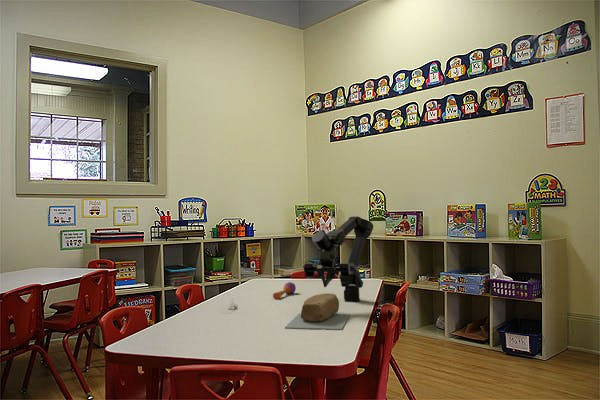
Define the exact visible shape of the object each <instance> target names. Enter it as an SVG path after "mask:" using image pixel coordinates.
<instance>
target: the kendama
mask: <svg viewBox="0 0 600 400" xmlns="http://www.w3.org/2000/svg"><path fill="white" fill-rule="evenodd" d="M296 287H297V286H296V285H295V283H294V282H291V281H288V282H286V283H285V284H284V286H283V290H280V291H277V292H274V293H273V294H272V298H273V299H274V300H279V299H280V298H281V297H282V296H283V295H284V294H286V295H292V294H294V293H295V292H296V290H297V289H296Z"/></svg>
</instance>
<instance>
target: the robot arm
mask: <svg viewBox="0 0 600 400" xmlns="http://www.w3.org/2000/svg"><path fill="white" fill-rule="evenodd" d="M373 230H374V223H372V221H370V220H367V219H365V218H362V217H360V216H350V217H348V219H347V220H346V221H344V223H343V224H341V225H340V226H339V227H338V228H337V229H333V230H331V231H329V232H327V233H326V231H325V229H319V230H318V231H317V232H315V233H314V234H313V235H312V237H311V240H312V242H313V243H314V245H315V246H316V247H317V249H318V250H321V251H318V254H319V255H318V260H319V261H318V264H317V266H315V263H304V265H303V272H304V276H305V277H314V276H315V275H316V273H317V277H318V278H320V279H321V282H322V285H323V287H324V288H327V287H328V285H329V284H330V282H331V281H332V280H333V279H336V278H337V276H336V275H337V273H339V274H340V275H339V280H340V285H341V287H342V288H344V290H343V300H344V302H360V300H361V297H360V288H361V289H362V287H364V286H363V285H364V281H363V279H362V278H361V275H360V274H361V272H360V269H359V266H360V262H361V259H362V254H363V251H364V248H365V244H366V240H367V239H368V238H369V237H370V236H371V235H372V233H373ZM352 231H353V233H354V235H355V237H354V242H353V245H352V249H351V252H350V255H349V257H348V258H349V259H348V261H347V262H346V263H345V262H344V263H341V262H339V264H338V266H337V265H335V260H337V254H338V250H337V249H336V248H337V246H342V245H343V244H344V242H345V241H346V237H347V236H348V234H351V232H352Z"/></svg>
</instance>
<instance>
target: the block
mask: <svg viewBox="0 0 600 400" xmlns="http://www.w3.org/2000/svg"><path fill="white" fill-rule="evenodd" d="M339 301H340V300H339V298H338V297H337V294H335V293H329V292H328V293H320V294H315V295H312V296H311V297H308V298H307V299H305V300H304V301H303V305H302V306H301V311H300V314H301V318H302V319H303V320H304V321H311V322H322V321H324V320H326V319H328V318H330V317H331V316H333V315H334V314H338V312H339V309H340V302H339Z"/></svg>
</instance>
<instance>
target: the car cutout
mask: <svg viewBox="0 0 600 400" xmlns="http://www.w3.org/2000/svg"><path fill="white" fill-rule="evenodd" d="M235 308H238V304H236V303H235V300H234V298H232V299H230V303H229V306H227V307H226V309H227V310H230V311H231V310H235Z"/></svg>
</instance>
